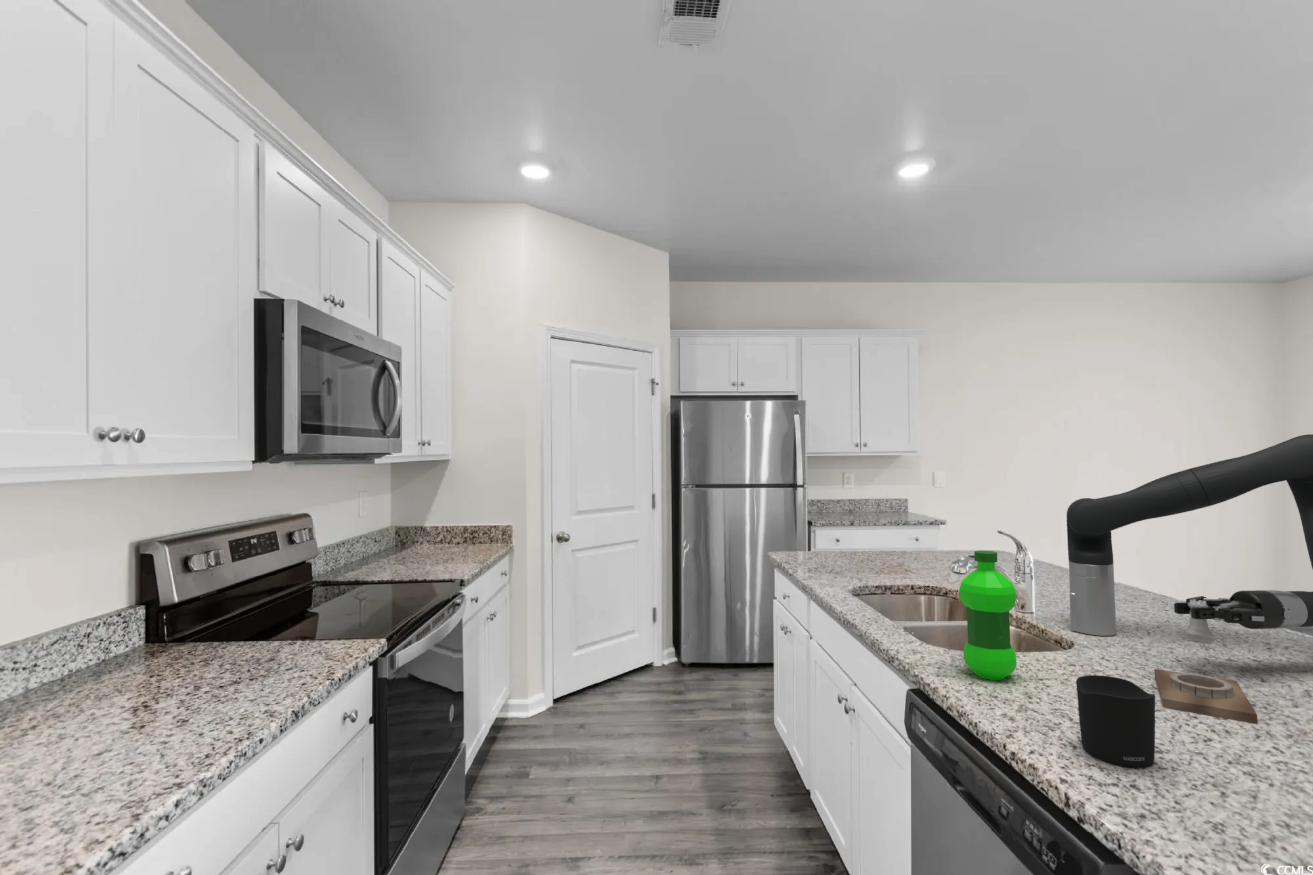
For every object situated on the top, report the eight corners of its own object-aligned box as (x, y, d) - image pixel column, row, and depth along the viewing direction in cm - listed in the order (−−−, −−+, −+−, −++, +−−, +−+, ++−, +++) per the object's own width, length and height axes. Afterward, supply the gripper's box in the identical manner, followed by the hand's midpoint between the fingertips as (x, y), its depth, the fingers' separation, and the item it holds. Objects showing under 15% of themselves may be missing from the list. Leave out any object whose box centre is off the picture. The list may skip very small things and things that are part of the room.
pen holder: (1072, 754, 91) (1069, 687, 91) (1086, 733, 97) (1083, 670, 98) (1153, 777, 84) (1150, 704, 84) (1161, 753, 90) (1158, 685, 91)
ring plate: (1162, 707, 107) (1162, 689, 107) (1154, 676, 121) (1154, 661, 121) (1257, 723, 100) (1256, 705, 100) (1236, 688, 114) (1236, 672, 114)
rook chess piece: (1209, 638, 124) (1207, 599, 124) (1218, 645, 120) (1216, 604, 120) (1181, 636, 126) (1179, 597, 126) (1189, 642, 122) (1187, 602, 122)
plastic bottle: (955, 665, 129) (951, 548, 130) (1009, 668, 127) (1005, 548, 128) (969, 682, 119) (965, 555, 120) (1028, 686, 117) (1023, 556, 118)
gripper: (1233, 583, 130) (1154, 584, 130) (1304, 599, 116) (1216, 600, 116) (1234, 618, 130) (1155, 619, 130) (1306, 638, 116) (1217, 640, 116)
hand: (1184, 610), depth 123 cm, fingers closed on rook chess piece, 3 cm apart
